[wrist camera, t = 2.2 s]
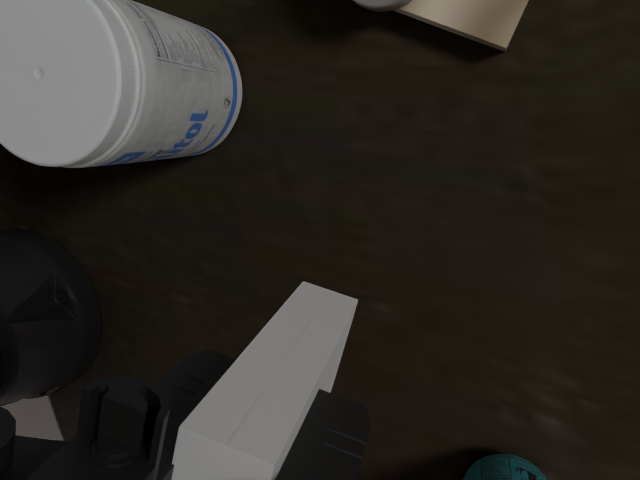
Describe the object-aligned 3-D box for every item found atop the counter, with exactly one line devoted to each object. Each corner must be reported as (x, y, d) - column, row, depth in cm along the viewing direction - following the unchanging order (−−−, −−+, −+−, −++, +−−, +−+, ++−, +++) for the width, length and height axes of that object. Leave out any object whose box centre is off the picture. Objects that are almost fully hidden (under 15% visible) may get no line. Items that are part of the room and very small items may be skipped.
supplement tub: (192, 180, 42) (50, 212, 28) (111, 92, 42) (-69, 79, 28) (273, 88, 38) (157, 71, 25) (184, -8, 39) (21, -77, 25)
